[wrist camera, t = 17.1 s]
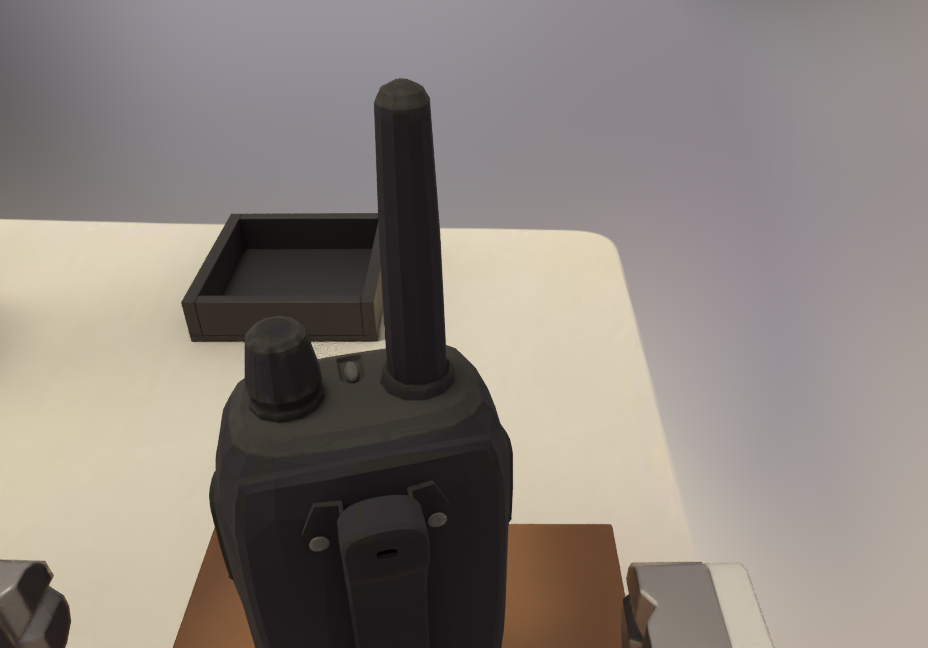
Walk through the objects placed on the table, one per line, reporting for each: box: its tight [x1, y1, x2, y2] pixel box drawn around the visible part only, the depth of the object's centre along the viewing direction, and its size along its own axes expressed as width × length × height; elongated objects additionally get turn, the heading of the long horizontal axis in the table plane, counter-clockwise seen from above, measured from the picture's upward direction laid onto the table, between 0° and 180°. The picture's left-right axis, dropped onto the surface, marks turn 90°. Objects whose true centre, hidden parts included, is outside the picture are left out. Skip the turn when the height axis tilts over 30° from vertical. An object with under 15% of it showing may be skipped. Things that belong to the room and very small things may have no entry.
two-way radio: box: [209, 79, 513, 648], centre depth 14 cm, size 6×4×15 cm
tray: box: [181, 213, 383, 341], centre depth 52 cm, size 12×12×3 cm
